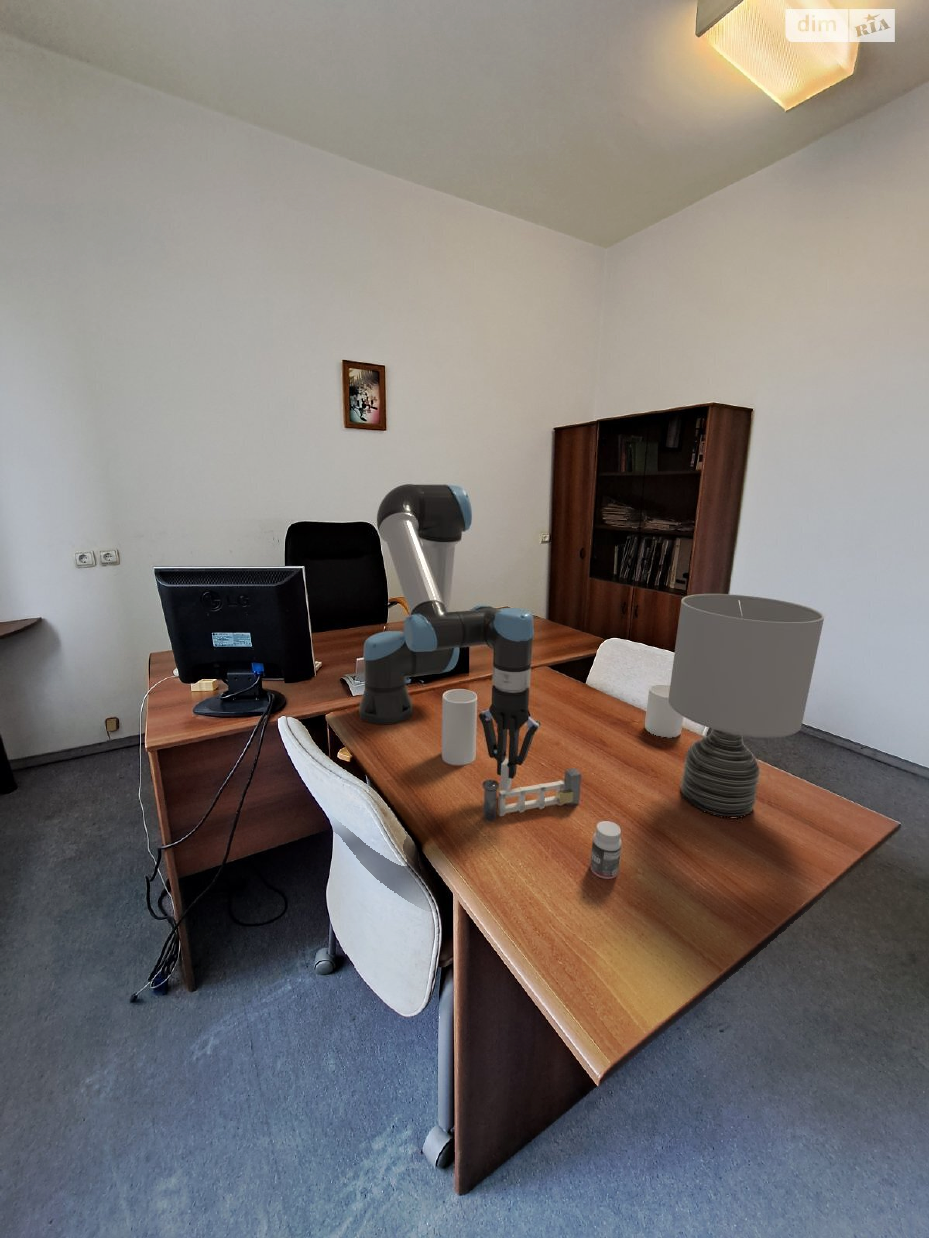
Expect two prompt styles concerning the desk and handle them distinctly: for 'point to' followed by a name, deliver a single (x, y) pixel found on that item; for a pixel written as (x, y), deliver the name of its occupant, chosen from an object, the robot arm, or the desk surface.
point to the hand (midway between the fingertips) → (505, 789)
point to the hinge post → (490, 799)
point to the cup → (459, 726)
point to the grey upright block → (570, 788)
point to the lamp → (739, 688)
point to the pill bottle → (606, 850)
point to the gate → (532, 803)
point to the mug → (662, 713)
